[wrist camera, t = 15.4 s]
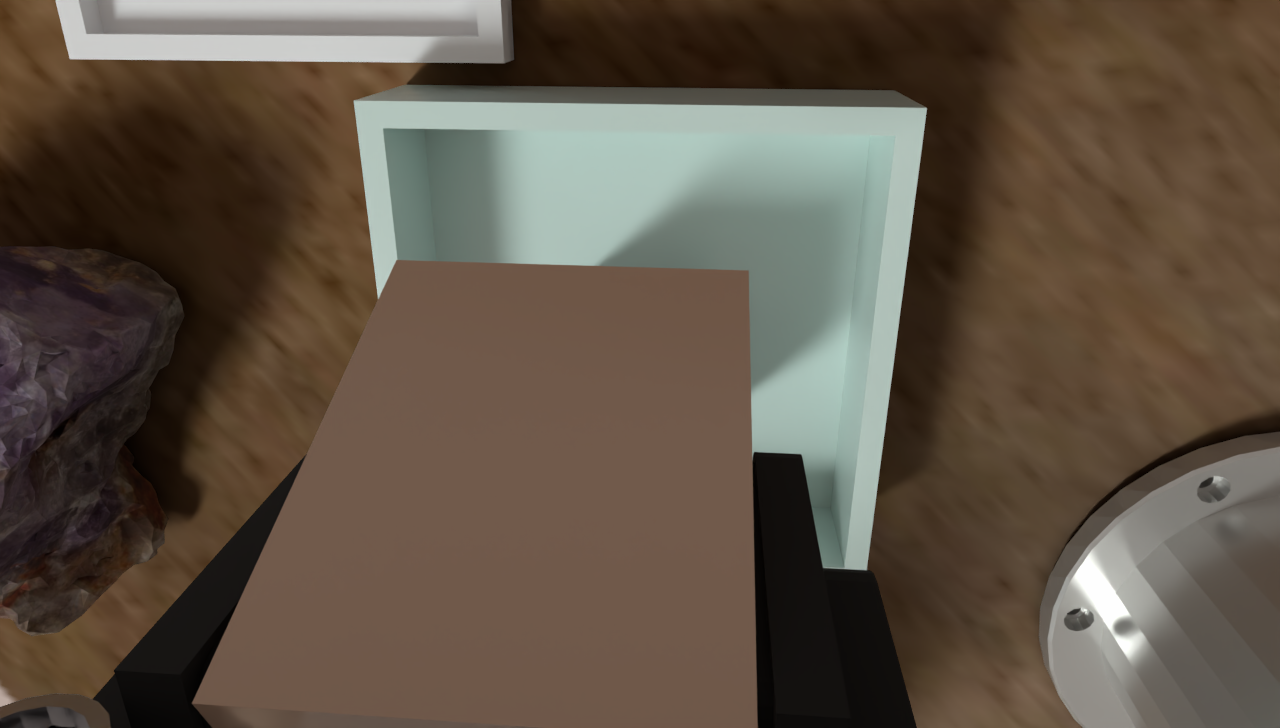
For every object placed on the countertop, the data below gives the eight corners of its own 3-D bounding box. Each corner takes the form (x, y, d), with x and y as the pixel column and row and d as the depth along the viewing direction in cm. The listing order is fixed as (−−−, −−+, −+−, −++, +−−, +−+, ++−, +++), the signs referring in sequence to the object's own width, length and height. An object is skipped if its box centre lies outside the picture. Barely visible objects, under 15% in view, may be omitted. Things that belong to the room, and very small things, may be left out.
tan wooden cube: (748, 270, 10) (757, 742, 6) (730, 493, 12) (729, 909, 9) (396, 260, 10) (191, 702, 6) (456, 479, 13) (340, 876, 9)
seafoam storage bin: (894, 90, 22) (926, 108, 19) (845, 514, 27) (864, 587, 24) (405, 84, 23) (353, 100, 20) (446, 497, 28) (411, 565, 25)
